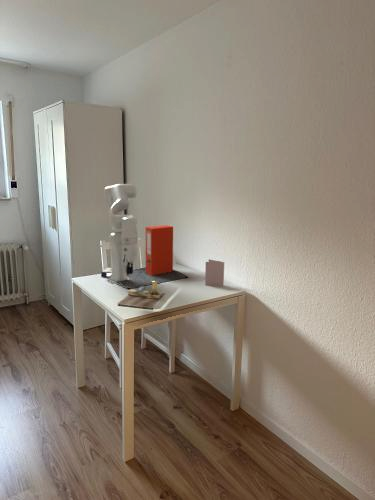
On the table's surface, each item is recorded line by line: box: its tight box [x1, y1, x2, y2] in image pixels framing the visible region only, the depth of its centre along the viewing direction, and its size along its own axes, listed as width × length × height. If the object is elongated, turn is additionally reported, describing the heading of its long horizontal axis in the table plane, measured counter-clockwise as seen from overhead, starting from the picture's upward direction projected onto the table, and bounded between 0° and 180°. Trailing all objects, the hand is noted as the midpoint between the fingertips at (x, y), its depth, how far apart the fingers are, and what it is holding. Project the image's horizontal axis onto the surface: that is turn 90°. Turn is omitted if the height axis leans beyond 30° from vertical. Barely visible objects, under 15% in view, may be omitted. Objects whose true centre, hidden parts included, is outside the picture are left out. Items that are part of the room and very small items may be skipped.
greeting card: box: [204, 259, 225, 287], centre depth 221 cm, size 11×7×15 cm, turn 54°
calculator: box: [100, 267, 112, 278], centre depth 240 cm, size 11×4×15 cm
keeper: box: [136, 285, 147, 292], centre depth 198 cm, size 2×7×4 cm, turn 165°
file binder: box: [145, 224, 174, 276], centre depth 245 cm, size 8×17×32 cm, turn 127°
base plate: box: [117, 292, 166, 311], centre depth 193 cm, size 19×22×2 cm
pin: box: [151, 279, 158, 295], centre depth 195 cm, size 3×3×9 cm
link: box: [127, 288, 163, 299], centre depth 197 cm, size 18×6×2 cm, turn 77°
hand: (129, 273), depth 193 cm, fingers closed
